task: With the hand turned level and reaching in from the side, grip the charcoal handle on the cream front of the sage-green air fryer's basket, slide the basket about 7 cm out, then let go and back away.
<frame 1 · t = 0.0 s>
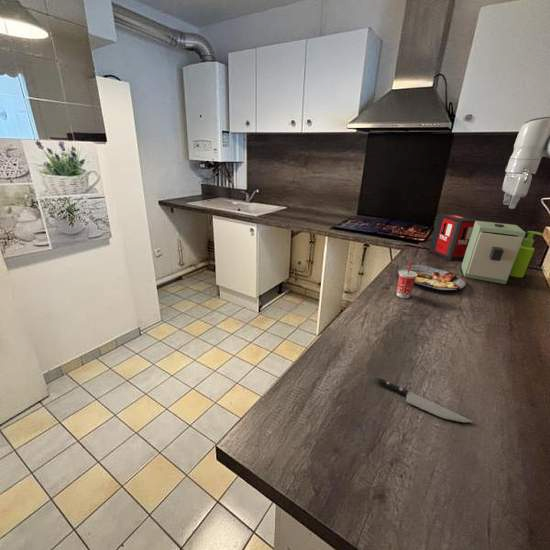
hand: (508, 206, 111), 31 cm above the worktop, tool pointing down, fingers open, 8 cm apart
cleaning product box: (446, 255, 153), on the worktop
beverage cup: (402, 295, 108), on the worktop
chef's knife: (419, 404, 61), on the worktop
basket: (491, 253, 122), point 11 cm above the worktop, slide at 0.0 cm
food plate: (429, 281, 121), on the worktop
soap dispenser: (516, 275, 130), on the worktop
air fryer: (482, 274, 129), on the worktop
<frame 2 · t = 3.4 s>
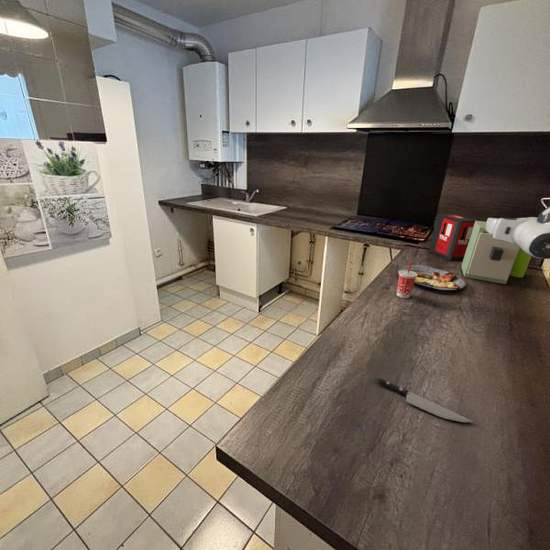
hand: (518, 223, 98), 28 cm above the worktop, tool horizontal, fingers open, 8 cm apart
nothing on the worktop moved.
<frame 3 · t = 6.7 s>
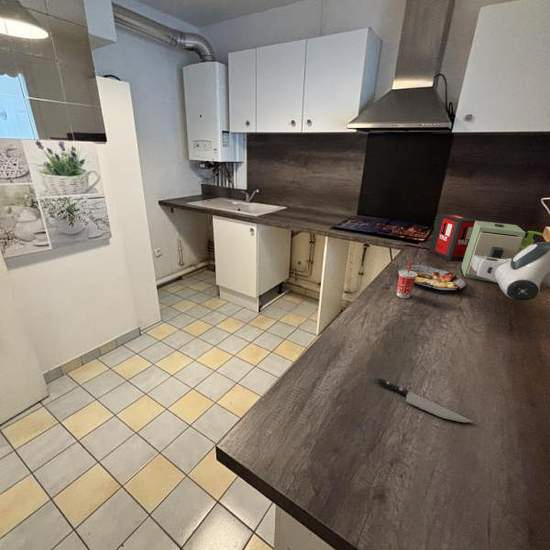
hand: (501, 259, 108), 13 cm above the worktop, tool horizontal, fingers open, 8 cm apart
nothing on the worktop moved.
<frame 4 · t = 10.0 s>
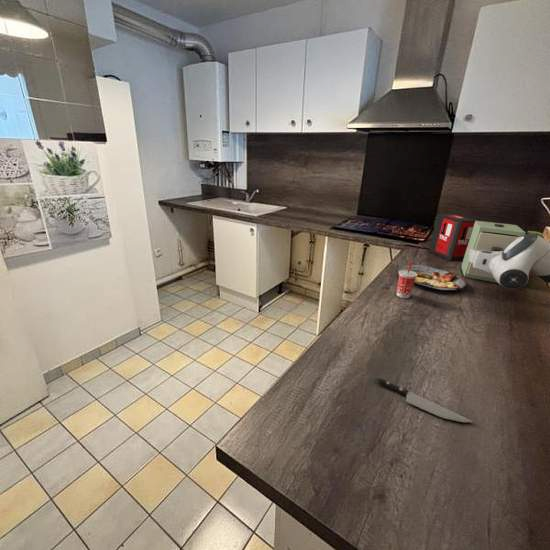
hand: (495, 253, 116), 13 cm above the worktop, tool horizontal, fingers closed on basket, 3 cm apart
basket: (491, 253, 122), point 11 cm above the worktop, slide at 0.0 cm, touching gripper
everything else where it was.
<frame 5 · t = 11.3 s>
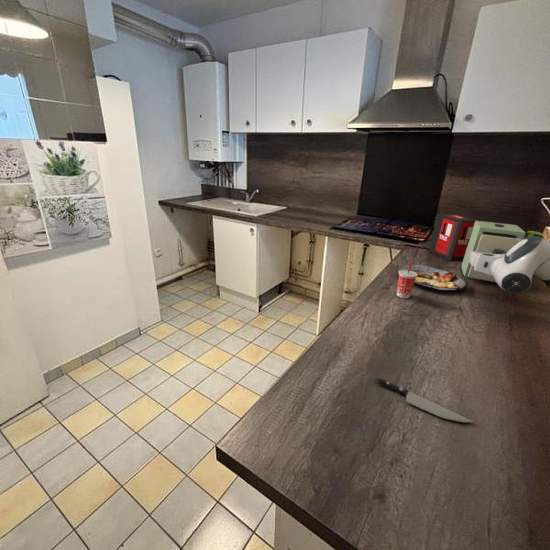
hand: (497, 255, 113), 13 cm above the worktop, tool horizontal, fingers closed on basket, 3 cm apart
basket: (493, 256, 119), point 11 cm above the worktop, slide at 3.5 cm, touching gripper
everything else where it was.
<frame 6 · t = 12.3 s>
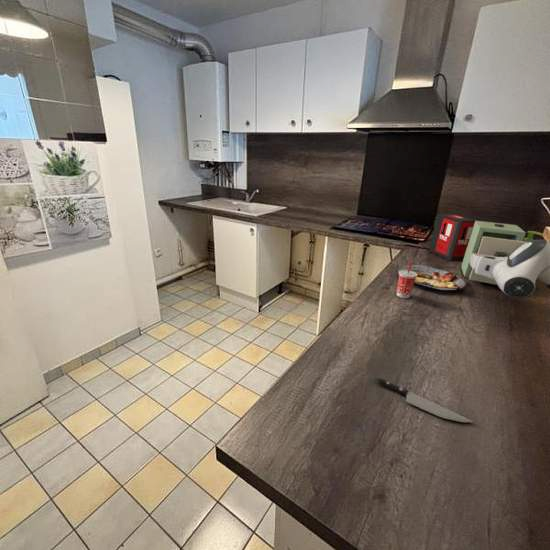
hand: (499, 258, 110), 13 cm above the worktop, tool horizontal, fingers closed on basket, 3 cm apart
basket: (494, 258, 116), point 11 cm above the worktop, slide at 7.0 cm, touching gripper
everything else where it was.
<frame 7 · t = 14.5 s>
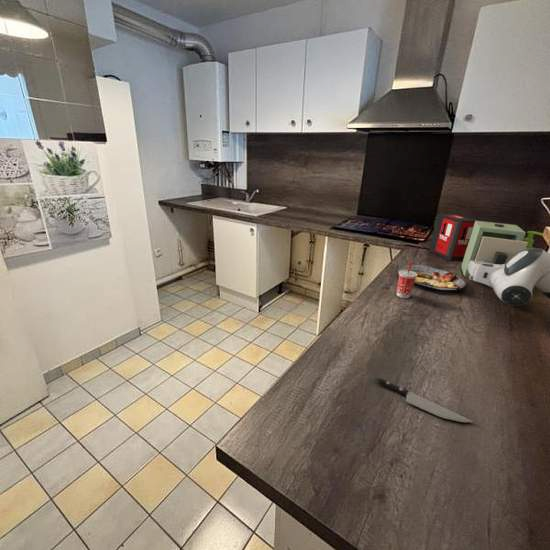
hand: (497, 264, 111), 10 cm above the worktop, tool horizontal, fingers open, 8 cm apart
basket: (494, 258, 116), point 11 cm above the worktop, slide at 6.9 cm
everything else where it was.
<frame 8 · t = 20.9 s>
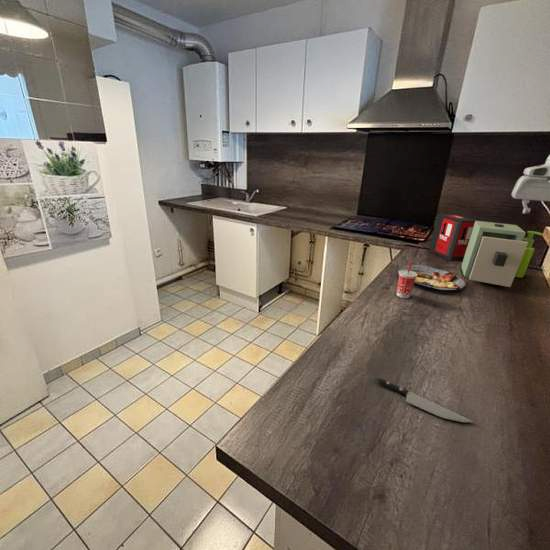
hand: (543, 215, 96), 31 cm above the worktop, tool pointing down, fingers open, 8 cm apart
nothing on the worktop moved.
at the end: basket slide at 6.9 cm; the gripper is holding nothing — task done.
